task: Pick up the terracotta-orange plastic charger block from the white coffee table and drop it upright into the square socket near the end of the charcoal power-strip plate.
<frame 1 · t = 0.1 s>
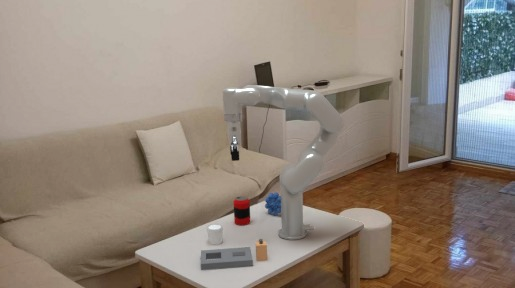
hand: (234, 157, 210), 37 cm above the table, tool pointing down, fingers open, 9 cm apart
soda can: (242, 222, 236), on the table
socket plate: (226, 260, 198), on the table
white short cylinder: (215, 242, 216), on the table
charger: (261, 258, 199), on the table
grapes: (276, 215, 244), on the table
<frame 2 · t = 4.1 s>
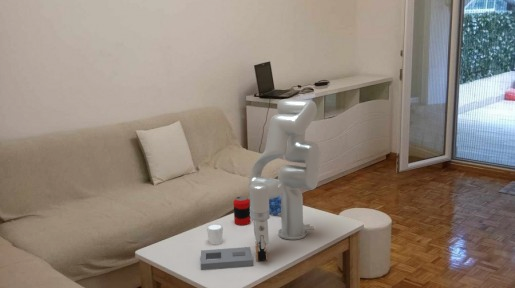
hand: (261, 257, 199), 1 cm above the table, tool pointing down, fingers closed on charger, 4 cm apart
charger: (261, 258, 199), on the table, touching gripper
everything else where it was.
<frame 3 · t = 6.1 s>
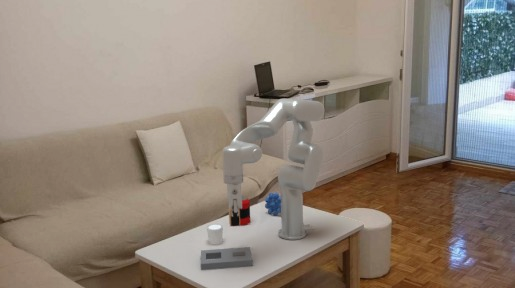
hand: (234, 223, 194), 16 cm above the table, tool pointing down, fingers closed on charger, 4 cm apart
charger: (234, 224, 194), point 15 cm above the table, touching gripper
everything else where it was.
when the fingers open (4 cm above the table, at t = 8.5 s): charger drops 3 cm, resting in socket plate.
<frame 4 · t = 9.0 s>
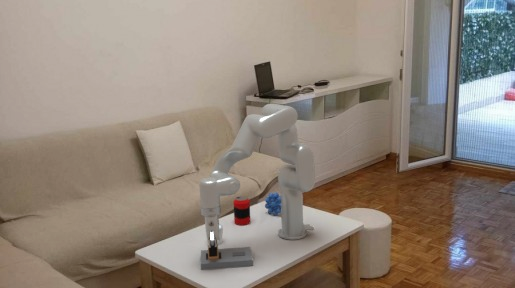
hand: (213, 250, 196), 5 cm above the table, tool pointing down, fingers open, 9 cm apart
charger: (213, 262, 197), resting in socket plate
everything else where it was.
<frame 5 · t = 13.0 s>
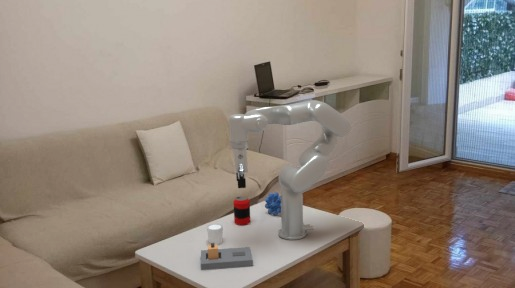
hand: (241, 184, 208), 26 cm above the table, tool pointing down, fingers open, 9 cm apart
nothing on the table moved.
at the end: charger 0.1 cm from the target spot on the socket plate, point 0.0 cm above the socket plate's base; charger tilted 0°; the gripper is holding nothing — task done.
